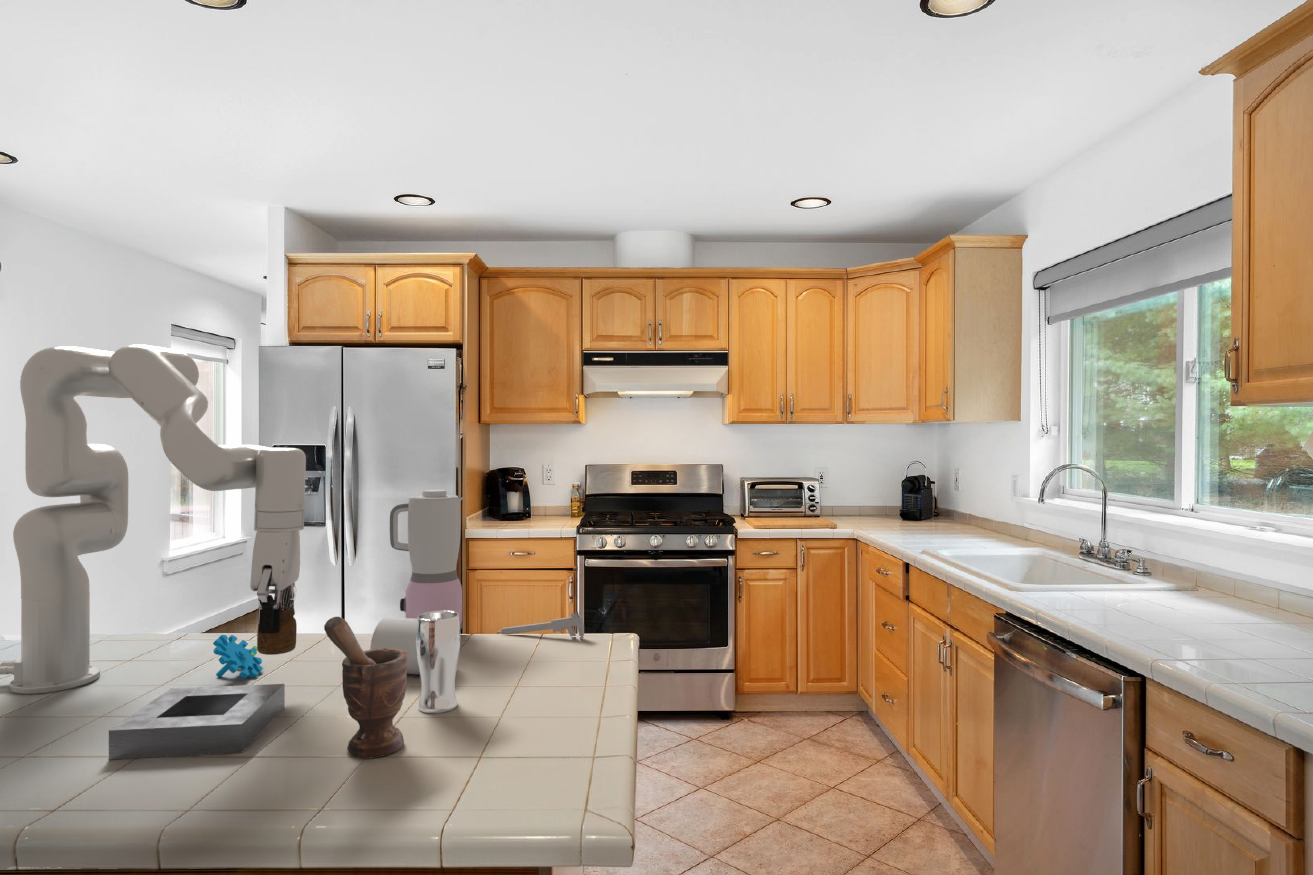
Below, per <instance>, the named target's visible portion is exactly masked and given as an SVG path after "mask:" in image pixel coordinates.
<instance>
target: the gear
mask: <svg viewBox="0 0 1313 875" xmlns="http://www.w3.org/2000/svg"><path fill="white" fill-rule="evenodd" d="M236 641H238V637H237V636H235V635H233V634H231V635H230V636H228V635H227V634H226V635H225V634H220V635H219V636H218V638H216V640H214V641H213V642H212V644H213V645H214V646H215V647H214V648H213V654H215V655H218V656H220V657H219V659H218V661H219V663H220V665H223V666H222V667H221V668H220V669H219V670H218V671H217V673H215V675H216V677H217V678H222V677H223V676H224V675H225V673H226V672H228V671H229V672H230V673H232V674H234V673H236V672H237V671H238V670H241V672H240V673H239V676H240V677H241V678H244V679H246V678H247V677H248V676H249V677H250V678H253V679H254V678H257V677H258V676H259V674H260V673H261V671H262V670H263V669H264V667H263V666H261V664H262V663H263V659H262V658H261V657H257V656H256V654H258V650H257V645H256V646H255V645H253V646H252V647H251V648H246V647H247V646H248V645H249V643H248V642H247V641H245V639H242V640H241V641H240V642H239V643H237V642H236Z"/></svg>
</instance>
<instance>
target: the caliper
mask: <svg viewBox="0 0 1313 875" xmlns="http://www.w3.org/2000/svg"><path fill="white" fill-rule="evenodd" d="M575 627H576V628H577V632H578V636H581V637H579V641H582V640H583V639H584V637H585V624H584V620H583V616H582V615H580V614H579V611H576V612H575V613H574V612H571V613H570V616H569V617H562V618H555V619H554V618H553V619H551V620H550V621H548V622H547V621H546V622H541V623H540V622H538V623H533V624H532V623H530V624H523V625H516V626H509V627H503V628H501V629H500V630H498V631H496V633H495V634H500V635H506V636H507V635H508V636H509V635H515V634H517V635H518V634H522V633H523V634H525V633H529V632H539V631H546V630H548V631H549V630H552V631H553V632H552V633H557V632H559V633H560V632H563V631H564V630H567V633H568V634H569V636H570V638H571V640H574V641H575V640H576V639H577V637H571V636H576V635H577V633H576V631H575V630H576V629H575ZM583 636H584V637H583Z"/></svg>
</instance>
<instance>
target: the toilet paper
mask: <svg viewBox="0 0 1313 875" xmlns="http://www.w3.org/2000/svg"><path fill="white" fill-rule="evenodd" d="M416 630H417V619H412V618H406V617H384V618H382V619H381V620H380V621H379V622H378V623H377V625H376V626H375V628H374V631H373V633H372V636H371V641H370V648H369V650H372V649H383V648H388V649H393V648H394V649H400V650H404V651H405V652H407V653H408V654H407V671H406V673H407V675H417V676H418V675H419V676H420V672H419V666H418V661H417V653H416Z"/></svg>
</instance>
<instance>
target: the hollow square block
mask: <svg viewBox="0 0 1313 875" xmlns="http://www.w3.org/2000/svg"><path fill="white" fill-rule="evenodd" d="M285 687H286V686H285V683H274V684H273V683H271V684H270V683H269V684H249V685H244V684H243V685H223V686H221V685H220V686H200V687H178V688H175V687H174V688H170V689H168V690H167V691H165V692H163V694H161V695H159V696H158V697H156V698H155V699H153V700H152V701H150V702H149V703H147V704H145V705H144V706H143V707H141V708H140V709H138V710H137V711H135V712H134V713H133V714H131V715H130V716H128V717H127V718H125V719H124V720H122V721H121V722H119V723H118V724H116V725H114V726H113V727H112V728H110V729H109V730H108V760H109V761H110V760H112V761H113V760H126V759H127V760H129V759H147V758H166V757H183V756H184V757H185V756H204V755H205V756H206V755H207V756H208V755H221V754H222V755H223V754H237V753H238V754H242V753H243V752H244V751H245V750H246V749H247V748H248V747H249V746H250V745H251V744H252V743H253V742H254V740H255V741H256V739H257V738H258V737H259V736H260V734H262V732H263V731H265V729H267V727H268V726H269V725H270V724H271V723H272V722H273V721H274V720H275V719H276V718H277V717H278V716H279V715H280V714H281V712H283V711H284V710H285V704H286V702H285V698H286V697H285V692H286V691H285V690H286V688H285Z"/></svg>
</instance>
